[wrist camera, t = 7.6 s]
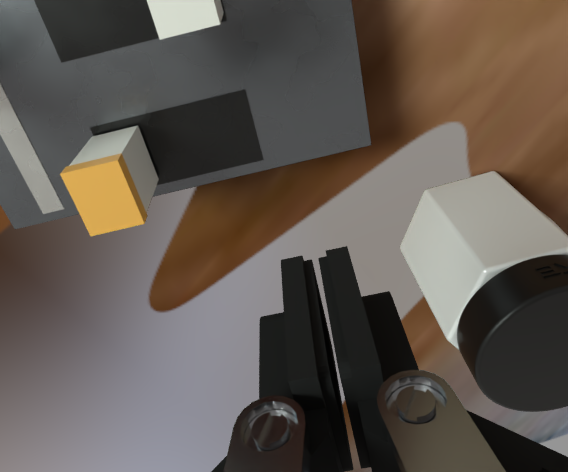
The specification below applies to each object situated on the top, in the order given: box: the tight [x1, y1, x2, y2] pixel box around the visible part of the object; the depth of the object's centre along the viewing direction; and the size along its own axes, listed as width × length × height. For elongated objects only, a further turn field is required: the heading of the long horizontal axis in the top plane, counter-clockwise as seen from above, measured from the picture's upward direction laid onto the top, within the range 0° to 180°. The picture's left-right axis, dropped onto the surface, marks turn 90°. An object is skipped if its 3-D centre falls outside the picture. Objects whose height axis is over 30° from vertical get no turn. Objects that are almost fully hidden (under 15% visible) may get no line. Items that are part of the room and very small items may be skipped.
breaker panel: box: [0, 0, 371, 229], centre depth 25 cm, size 20×11×4 cm, turn 103°
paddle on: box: [60, 126, 159, 236], centre depth 23 cm, size 2×3×5 cm
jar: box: [400, 171, 568, 412], centre depth 28 cm, size 9×8×12 cm
